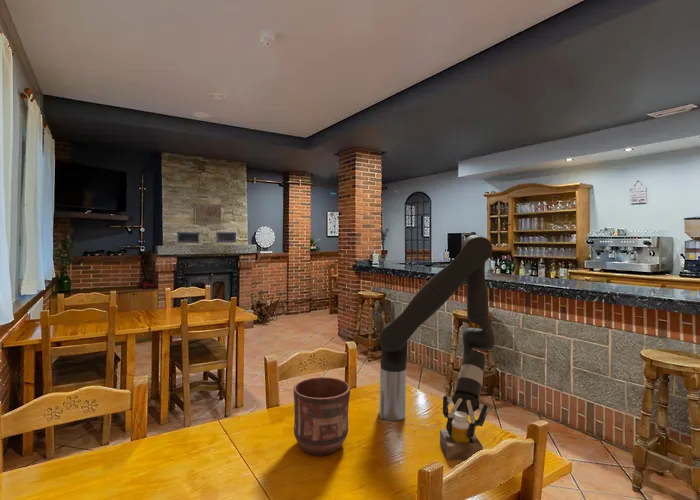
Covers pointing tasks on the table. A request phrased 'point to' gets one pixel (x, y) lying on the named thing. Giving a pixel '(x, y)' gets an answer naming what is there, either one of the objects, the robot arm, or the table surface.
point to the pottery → (321, 414)
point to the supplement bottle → (460, 428)
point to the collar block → (458, 446)
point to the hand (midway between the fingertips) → (459, 434)
